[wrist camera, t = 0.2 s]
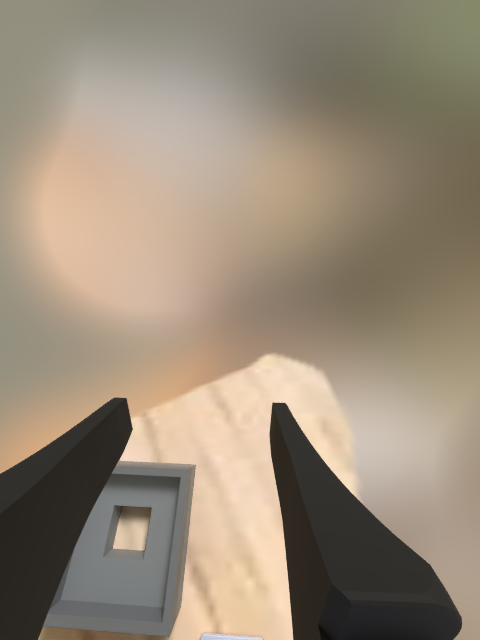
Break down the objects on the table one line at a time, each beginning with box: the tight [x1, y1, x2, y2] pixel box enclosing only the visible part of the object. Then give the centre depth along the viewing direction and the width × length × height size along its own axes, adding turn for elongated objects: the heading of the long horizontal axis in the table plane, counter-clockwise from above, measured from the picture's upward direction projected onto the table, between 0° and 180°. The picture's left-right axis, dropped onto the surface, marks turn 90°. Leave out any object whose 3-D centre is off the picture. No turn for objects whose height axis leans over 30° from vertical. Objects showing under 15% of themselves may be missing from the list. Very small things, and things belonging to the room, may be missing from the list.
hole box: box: [43, 461, 196, 637], centre depth 32 cm, size 16×16×5 cm
